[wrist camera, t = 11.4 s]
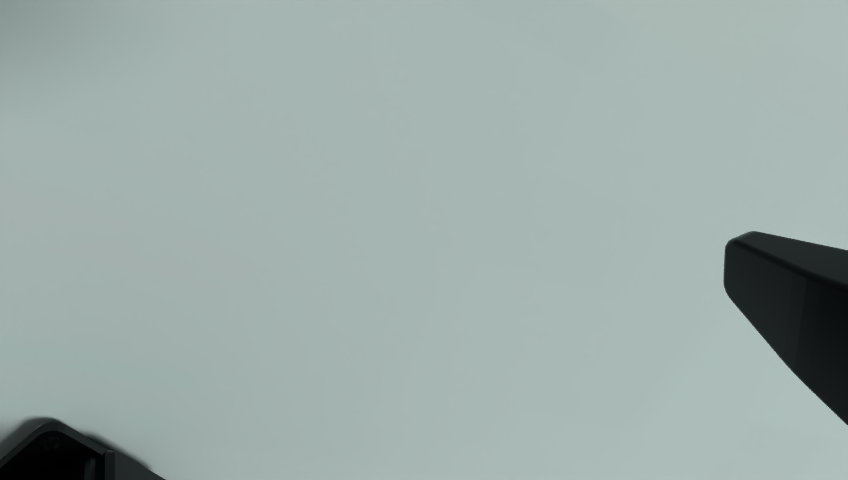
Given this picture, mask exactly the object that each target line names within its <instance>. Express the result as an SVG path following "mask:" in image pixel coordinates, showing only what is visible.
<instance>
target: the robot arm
mask: <svg viewBox="0 0 848 480" xmlns="http://www.w3.org/2000/svg"><path fill="white" fill-rule="evenodd" d="M724 287H725V290H726V293H727V294H728V296H729V298H730V299H731V300H732V301H733V303H734V304H735V305H736V306H737V307H738V308H739V310H740V311H741V312H742V313H743V314H744V316H745V317H746V318H747V319H748V320H749V321H750V323H751V324H752V325H753V326H754V327H755V329H756V330H757V331H758V332H759V333H760V334H761V336H762V337H763V338H764V339H765V340H766V342H767V343H768V344H769V345H770V346H771V347H772V349H773V350H774V351H775V352H776V353H777V355H778V356H779V357H780V358H781V359H782V360H783V362H784V363H785V364H786V365H787V366H788V367H789V368H790V369H791V370H792V371H793V373H794V374H795V375H796V376H797V377H798V378H799V379H800V380H801V381H802V382H803V383H804V384H805V385H806V386H807V387H808V388H809V389H810V390H811V391H812V392H813V393H815V394H816V395H817V396H818V397H819V398H820V399H821V400H822V401H823V402H824V403H825V404H826V405H827V406H828V407H829V408H830V409H831V410H832V411H833V412H834V413H835V414H836V415H837V416H838V417H839V418H840V419H841V420H843V421H844V422H845V423H846V424H847V425H848V250H844V249H839V248H834V247H829V246H824V245H819V244H815V243H810V242H805V241H800V240H795V239H791V238H786V237H781V236H776V235H771V234H766V233H762V232H756V231H751V232H747V233H745V234H743V235H740V236H738V237H736V238H733V239H731V240H730V241H728V243H727V245H726V246H725V259H724ZM48 437H55V438H58V440H57V441H53V442H49V441H46V440H45V439H47V438H48ZM0 480H165V479H163V478H162V477H160V476H158V475H157V474H155V473H153V472H151V471H150V470H148V469H146V468H144V467H143V466H141V465H139V464H138V463H136V462H134V461H132V460H131V459H129V458H127V457H126V456H124V455H122V454H120V453H119V452H117V451H110V450H107V449H106V448H104V447H102V446H100V445H99V444H97V443H95V442H93V441H92V440H90V439H88V438H86V437H85V436H83V435H81V434H80V433H78V432H76V431H74V430H73V429H71V428H69V427H67V426H66V425H64V424H61V423H55V422H51V423H47V424H44V425H42V426H41V427H39V428H38V429H36V430H35V431H34V432H33V433H32V434H31V435H29V436H28V437H27V438H26V439H25V440H24V441H22V442H21V443H20V444H19V445H18V446H17V447H15V448H14V449H13V450H12V451H11V452H10V453H8V454H7V455H6V456H5V457H4V458H3V459H1V460H0Z"/></svg>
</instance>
